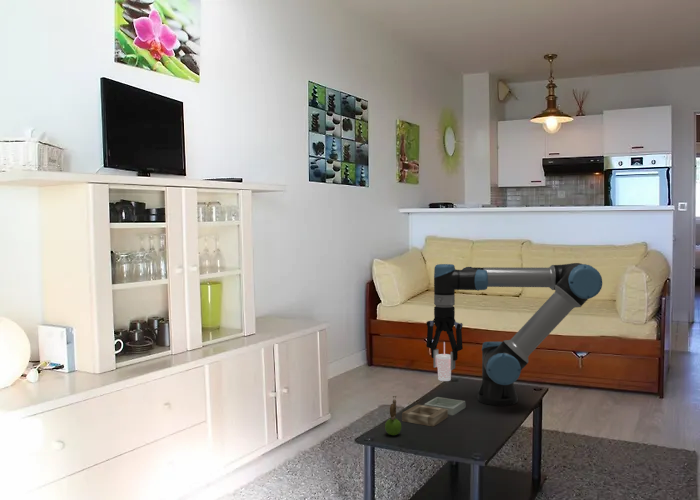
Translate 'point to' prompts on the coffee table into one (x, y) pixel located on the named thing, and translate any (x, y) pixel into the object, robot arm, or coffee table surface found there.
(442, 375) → the beverage cup
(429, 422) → the socket holder
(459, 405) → the tray
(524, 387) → the coffee table surface
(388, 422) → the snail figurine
